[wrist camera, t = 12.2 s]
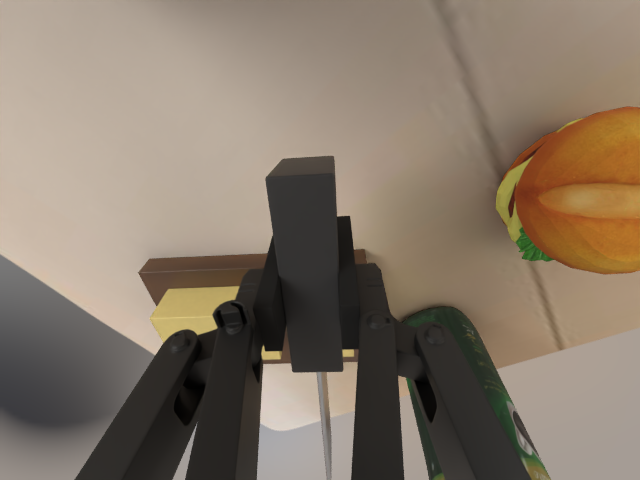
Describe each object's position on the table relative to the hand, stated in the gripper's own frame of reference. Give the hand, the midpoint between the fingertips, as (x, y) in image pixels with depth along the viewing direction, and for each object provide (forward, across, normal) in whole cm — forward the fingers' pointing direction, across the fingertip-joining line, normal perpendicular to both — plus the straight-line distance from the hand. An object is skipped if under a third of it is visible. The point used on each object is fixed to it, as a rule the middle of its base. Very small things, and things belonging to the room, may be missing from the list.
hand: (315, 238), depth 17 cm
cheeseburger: (+8, +18, 0) cm, 19 cm away
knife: (-2, 0, -6) cm, 6 cm away
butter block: (+5, -9, -11) cm, 16 cm away
